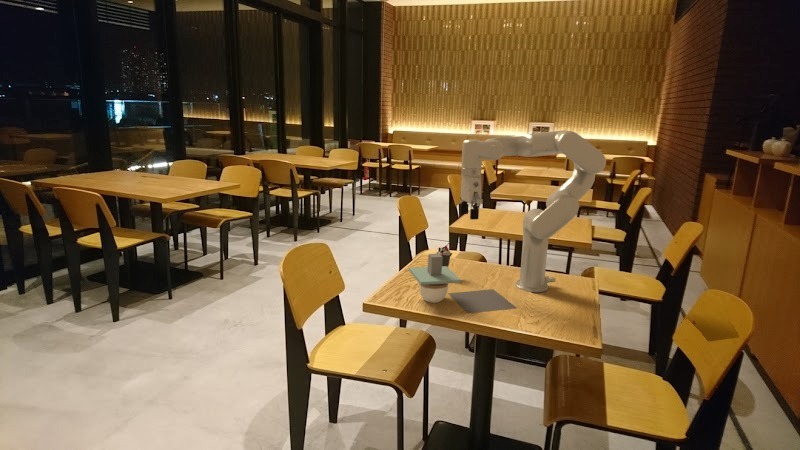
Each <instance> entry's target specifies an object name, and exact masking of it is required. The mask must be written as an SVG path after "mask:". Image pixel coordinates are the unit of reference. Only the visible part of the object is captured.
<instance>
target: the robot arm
mask: <svg viewBox="0 0 800 450" xmlns="http://www.w3.org/2000/svg"><path fill="white" fill-rule="evenodd" d="M461 146H462V147H461V150H462V151H461V171H460V174H461V175H460V177H461V183H460V191H459V194H460V195H459V196H460V197H459V199H460V201H459V204H460V208H459V209H460V210H459V213H460V214H461V215H468V214H469V212H470V215H469V219H470V220H479V215H480V213H479V212H480V206H481V202H482V165H483V163H482V162H483V160H488V161H497V160H500V159H501V158H502V157H508V156H509V157H512V156H514V157H515V156H518V157H519V156H520V157H526V158H529V157H530V158H531V157H542V156H550V155H559V154H563V155H564V156H565V157H566V158H568V159H569V160H570V161H571V162H573V170H572V174H571V175H570V176H569V177H568V179H566V181H565V182H563V183H562V184H561V185H560V186H559V187H557V189H555V190H554V191H553V192H552V193H551V194H549V195H548V197H547V198H546V200H545V206H546V208H545V209H544V210H543V209H541V208H532V209H530V210H528V211H527V212H526V213H525V214H524V217H523V219H522V248H521V249H522V250H521V258H520V259H521V262H520V273H519V280H516V281H515V287H516V288H517V289H519V290H521V291H524V292H529V293H544V292H546V291H548V290H549V285H548V284H549V283H555V282H556V277H555V276H553V277H550V276H548V275H546V269H547V257H548V248H549V239H550V238H551V237H553V236H555V234H556V233H558V232H560V230H562V229H563V228H564V227H565V226H567V225H568V224H569V223H570V222H571V221H572V220H573V219H574V218H575V217H576V215H577V214H578V213H579V212H578V211H579V210H580V209H579V208H580V204H579V201H580V200H581V199H582V198H583V197H584V196H585V195H586V194H587V193H588V192H589V191H590V190H591V188H592V187H593V185H594V183H595V178H596V175H597V174H600V173H601V172H602V171H603V170H604V169H605V167H606V166H607V165H606V164H607V158H606V156H605V155H604V153H603V152H601V150H599V148H597V147H595V146H594V145H593V144H592V143H590V142H589V141H588V140H586V139H585V138H584V137H582V136H581V135H580V134H578V133H577V132H575V131H573V130H562V129H561V130H555V131H545V132H544V131H543V132H536V133H528V134H527V133H526V134H525V133H524V134H519V135H512V136H511V135H510V136H502V137H501V136H500V137H491V138H488V139H485V140H480V139H474V138H473V139H465V140H463V142H462V145H461ZM469 204H470V205H469ZM469 207H470V211H469Z"/></svg>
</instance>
